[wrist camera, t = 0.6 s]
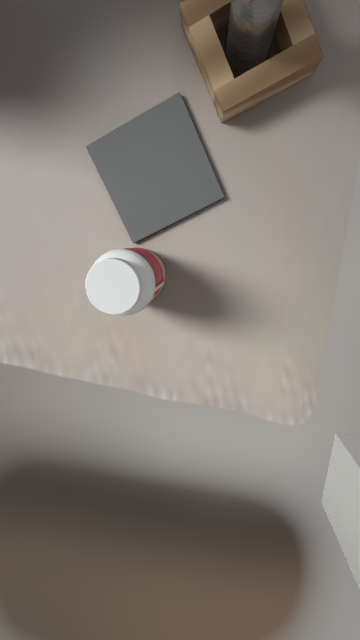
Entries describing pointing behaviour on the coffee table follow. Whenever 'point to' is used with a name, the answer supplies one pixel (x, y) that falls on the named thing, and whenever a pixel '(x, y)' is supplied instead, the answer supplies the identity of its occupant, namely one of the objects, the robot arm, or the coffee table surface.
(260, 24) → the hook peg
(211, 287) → the coffee table surface
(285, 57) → the block
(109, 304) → the pill bottle
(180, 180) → the rubber mat
